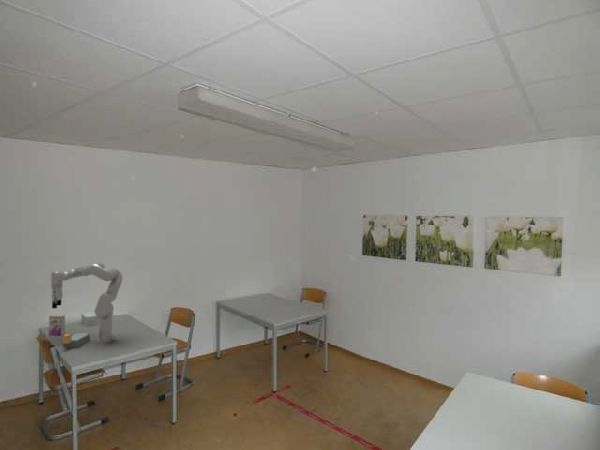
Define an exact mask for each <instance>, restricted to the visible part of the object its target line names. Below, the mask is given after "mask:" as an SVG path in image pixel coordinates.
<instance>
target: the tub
mask: <svg viewBox="0 0 600 450" xmlns="http://www.w3.org/2000/svg"><path fill="white" fill-rule="evenodd" d="M88 334H89V335H88V336H86V337H84V338H82V339H80V340H78V341H72V342H70V343H68V344H66V343H63V342H62V348H67V349H69V348H70V349H77V348H80V347H81V346H83V345H86V344H87V343H89V342H90V340H91V335H90V333H88Z"/></svg>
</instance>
